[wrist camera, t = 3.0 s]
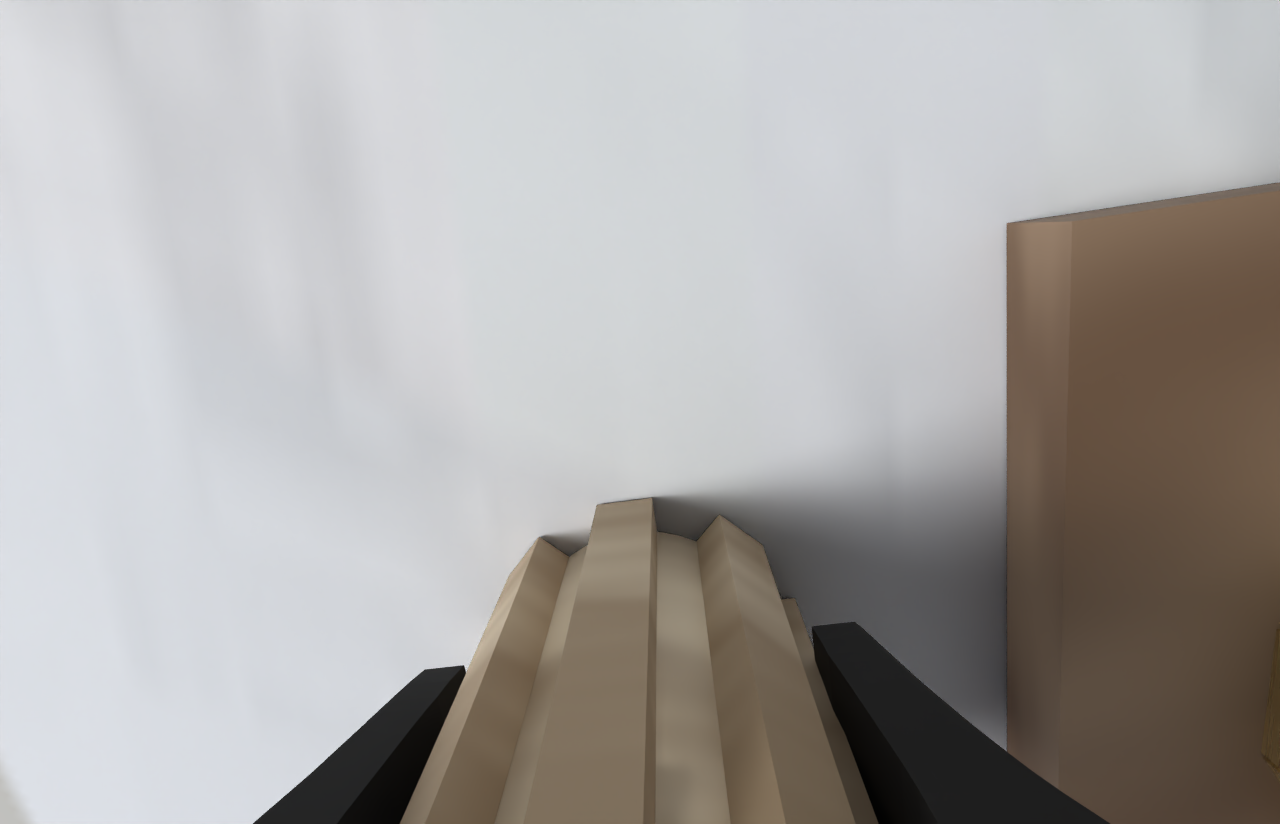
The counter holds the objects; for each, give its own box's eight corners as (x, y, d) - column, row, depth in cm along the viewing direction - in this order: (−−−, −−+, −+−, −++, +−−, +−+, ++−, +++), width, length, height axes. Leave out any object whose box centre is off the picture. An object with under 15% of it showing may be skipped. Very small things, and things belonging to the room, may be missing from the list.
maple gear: (808, 745, 12) (963, 1271, 6) (530, 773, 12) (404, 1295, 6) (783, 480, 10) (948, 810, 4) (469, 520, 11) (238, 873, 5)
